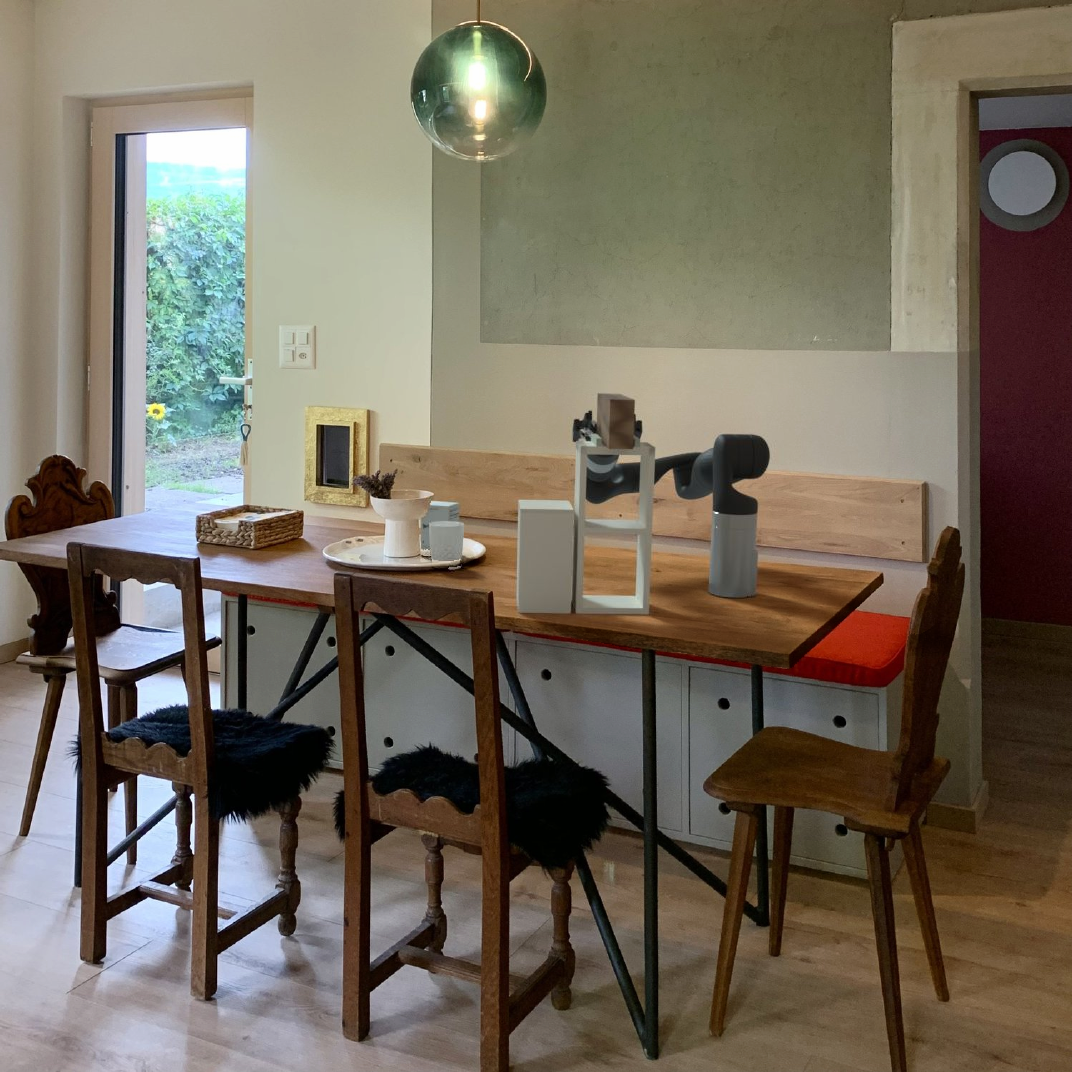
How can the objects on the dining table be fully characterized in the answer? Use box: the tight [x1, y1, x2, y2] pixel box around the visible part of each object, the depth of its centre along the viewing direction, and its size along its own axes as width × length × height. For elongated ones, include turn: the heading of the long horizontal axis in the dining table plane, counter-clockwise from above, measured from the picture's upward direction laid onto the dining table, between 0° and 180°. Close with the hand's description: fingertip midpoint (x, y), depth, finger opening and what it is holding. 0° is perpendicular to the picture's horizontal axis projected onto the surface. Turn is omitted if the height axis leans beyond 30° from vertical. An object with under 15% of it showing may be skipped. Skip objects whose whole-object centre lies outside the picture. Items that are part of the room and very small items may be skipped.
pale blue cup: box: [429, 521, 465, 571], centre depth 270 cm, size 8×8×10 cm
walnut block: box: [596, 392, 636, 449], centre depth 230 cm, size 4×24×9 cm, turn 3°
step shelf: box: [516, 434, 656, 615], centre depth 232 cm, size 25×13×34 cm, turn 93°
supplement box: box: [420, 500, 460, 550], centre depth 285 cm, size 7×7×13 cm
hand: (610, 415), depth 237 cm, fingers open, 7 cm apart
